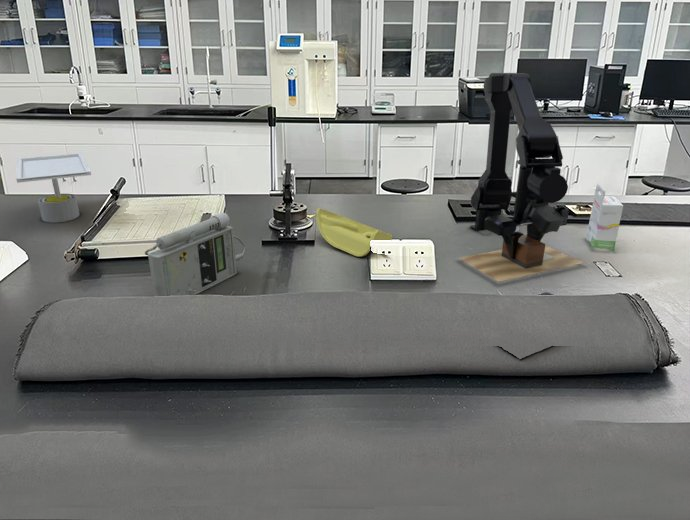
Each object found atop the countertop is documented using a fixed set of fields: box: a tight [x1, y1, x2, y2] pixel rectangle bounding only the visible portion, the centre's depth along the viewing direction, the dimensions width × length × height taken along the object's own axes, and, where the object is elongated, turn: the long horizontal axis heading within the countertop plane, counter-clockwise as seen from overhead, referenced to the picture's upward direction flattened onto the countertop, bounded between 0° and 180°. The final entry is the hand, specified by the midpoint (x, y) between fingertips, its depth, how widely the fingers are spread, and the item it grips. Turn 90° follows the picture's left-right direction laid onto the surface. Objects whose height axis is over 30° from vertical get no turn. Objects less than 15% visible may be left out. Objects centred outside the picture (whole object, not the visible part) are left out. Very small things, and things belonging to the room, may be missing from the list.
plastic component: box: [315, 207, 394, 258], centre depth 132 cm, size 20×7×10 cm
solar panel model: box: [15, 152, 92, 224], centre depth 150 cm, size 28×17×15 cm, turn 29°
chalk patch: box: [543, 253, 554, 261], centre depth 122 cm, size 5×5×1 cm
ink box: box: [585, 183, 624, 252], centre depth 128 cm, size 9×5×15 cm, turn 168°
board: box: [458, 245, 584, 283], centre depth 120 cm, size 14×24×1 cm, turn 114°
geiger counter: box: [144, 212, 247, 297], centre depth 108 cm, size 14×6×25 cm
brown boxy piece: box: [501, 233, 547, 268], centre depth 119 cm, size 8×5×5 cm, turn 24°
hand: (521, 256), depth 120 cm, fingers closed on brown boxy piece, 5 cm apart
